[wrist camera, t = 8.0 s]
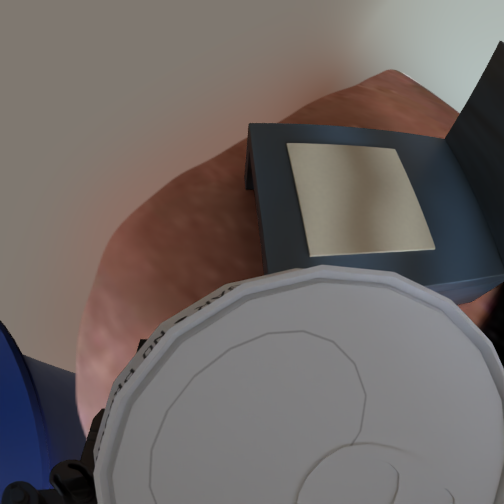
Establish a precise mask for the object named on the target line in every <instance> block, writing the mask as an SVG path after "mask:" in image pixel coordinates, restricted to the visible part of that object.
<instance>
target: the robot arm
mask: <svg viewBox="0 0 504 504" xmlns="http://www.w3.org/2000/svg"><path fill="white" fill-rule="evenodd" d="M147 340H148V339H140V343H139V346H138V349H137V352H138V351H139V350H140V348H141V347H142V346H143V345H144V343H145V342H146V341H147ZM137 352H136V353H137ZM104 411H105V409H101V411H100V412H99V413H98V414H97V415H96V416H95V417H94V418H93V421H92V424H91V427H90V432H89V434H88V437H87V441H86V443H85V446H84V450H83V453H82V456H81V460H80V461H78V460H66V461H63V462H60V463H58V464H57V465H56V466H55V467H53V469H52V471H51V472H50V475H49V482H50V483H51V485H52V486H53V487H54V488H55V489H43V490H36V489H35V487H33V486H32V485H31V484H30V483H28V482H24V481H15V482H13V483H11V484H9V485H8V486H7V487H6V488H5V490H4V492H3V495H2V500H1V504H98V502H97V496H96V489H95V482H94V475H93V473H94V469H95V462H94V452H93V450H94V446H95V443H96V439H97V435H98V432H99V428H100V425H101V421H102V418H103V414H104Z"/></svg>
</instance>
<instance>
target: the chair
mask: <svg viewBox="0 0 504 504" xmlns="http://www.w3.org/2000/svg"><path fill="white" fill-rule="evenodd" d="M244 179H245V189H246V190H249V189H254V193H255V201H256V210H257V218H258V226H259V235H260V243H261V252H262V261H263V269H264V275H268V274H273V273H277V272H281V271H286V270H290V269H294V268H300V269H306V268H310V267H314V266H319V265H331V266H340V267H350V268H360V269H370V270H380V271H390V272H395V273H397V274H399V275H401V276H403V277H405V278H408V279H410V280H412V281H414V282H416V283H418V284H420V285H422V286H424V287H426V288H428V289H430V290H432V291H434V292H436V293H438V294H440V295H443V296H445V297H447V298H449V299H451V300H452V301H453V302H454V303H455V304H456V305H458V304H463V303H468V302H472V301H474V300H475V299H477V298H479V297H480V296H482V295H484V294H485V293H487V292H488V291H490V290H491V289H493V288H494V287H496V286H498V285H499V284H501V283H502V282H504V42H502V41H500V42H499V44H498V46H497V48H496V50H495V52H494V53H493V55H492V57H491V59H490V61H489V63H488V65H487V67H486V69H485V71H484V72H483V74H482V76H481V78H480V80H479V82H478V83H477V85H476V87H475V89H474V91H473V92H472V94H471V96H470V98H469V99H468V101H467V103H466V105H465V106H464V108H463V110H462V111H461V113H460V115H459V116H458V118H457V120H456V121H455V123H454V125H453V126H452V128H451V129H450V131H449V133H448V134H447V136H446V137H445V139H441V138H435V137H429V136H423V135H416V134H409V133H402V132H394V131H385V130H376V129H367V128H356V127H344V126H329V125H311V124H281V123H250V124H249V126H248V138H247V150H246V162H245V175H244Z"/></svg>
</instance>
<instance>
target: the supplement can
mask: <svg viewBox="0 0 504 504" xmlns="http://www.w3.org/2000/svg"><path fill="white" fill-rule="evenodd" d="M93 452H94V462H95V469H94V473H93V475H94V482H95V489H96V496H97V502H98V504H504V369H503V366H502V364H501V362H500V359H499V357H498V355H497V353H496V351H495V348H494V346H493V344H492V342H491V341H490V340H489V339H488V338H487V337H486V336H485V335H484V334H483V332H482V331H481V330H480V329H479V328H478V327H477V326H476V325H475V324H474V323H473V322H472V321H471V320H470V319H469V318H468V317H467V315H466V314H465V313H464V312H463V311H462V310H461V309H460V308H459V307H458V306H457V305H456V304H455V303H454V302H453V301H452V300H451V299H449V298H447V297H445V296H443V295H440V294H438V293H436V292H434V291H432V290H430V289H428V288H426V287H424V286H422V285H420V284H418V283H416V282H414V281H412V280H410V279H408V278H405V277H403V276H401V275H399V274H397V273H395V272H390V271H380V270H370V269H360V268H350V267H340V266H331V265H319V266H314V267H310V268H306V269H300V268H294V269H290V270H286V271H281V272H277V273H273V274H268V275H264V276H260V277H255V278H251V279H246V280H242V281H237V282H233V283H229V284H225V285H223V286H221V287H220V288H218V289H217V290H215V291H213V292H212V293H210V294H208V295H207V296H205V297H204V298H202V299H200V300H199V301H197V302H195V303H194V304H192V305H190V306H189V307H187V308H185V309H184V310H182V311H181V312H179V313H177V314H176V315H174V316H172V317H171V318H169V319H167V320H166V321H164V322H162V323H161V324H160V325H159V326H158V327H157V329H156V330H155V331H154V332H153V333H152V335H151V336H150V337H149V338H148V340H147V341H146V342H145V343H144V345H143V346H142V347H141V348H140V350H139V351H138V352H137V353H136V355H135V356H134V357H133V358H132V360H131V361H130V362H129V363H128V365H127V366H126V367H125V368H124V370H123V371H122V372H121V373H120V375H119V376H118V377H117V378H116V380H115V381H114V382H113V385H112V388H111V392H110V395H109V398H108V401H107V405H106V408H105V411H104V414H103V418H102V421H101V425H100V428H99V432H98V435H97V439H96V443H95V446H94V450H93Z"/></svg>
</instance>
